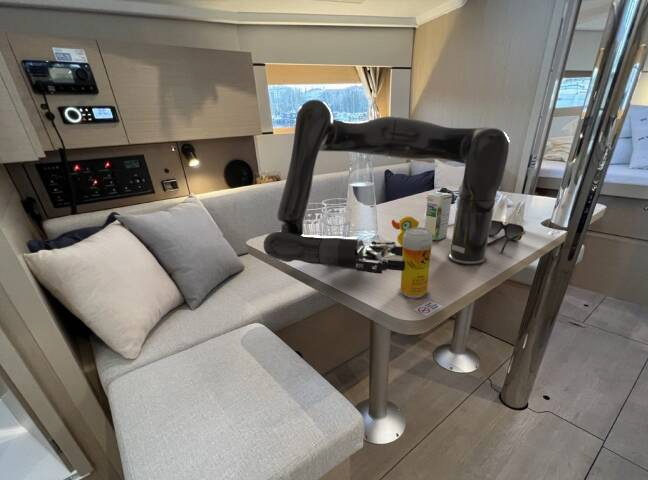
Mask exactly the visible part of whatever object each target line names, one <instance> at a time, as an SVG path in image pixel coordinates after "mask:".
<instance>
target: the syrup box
mask: <svg viewBox="0 0 648 480" xmlns="http://www.w3.org/2000/svg"><path fill="white" fill-rule="evenodd" d="M426 198H427V199H426V208H425V219H424V220H425V221H424V228H427V229H430V230H431V233H432V236H433V238H432V241H433V240H434V241H440V240H443V239H444V238H447V236H448V229H449V222H450V221H449V220H450V214H451V205H452V200H453V199H452V198H453V193H446V192H440V191H439V192H438V191H436V192H431V193H427V196H426Z"/></svg>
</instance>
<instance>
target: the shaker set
mask: <svg viewBox="0 0 648 480" xmlns="http://www.w3.org/2000/svg"><path fill="white" fill-rule="evenodd" d="M508 203H509V195H508V194H505V195H504V194H502V195H501V196H500V197H499V199H497V202H496V203H495V205H494V211H493V216H492V220H495V221H502V222H507V223H503V225H507V224H508V223H513V224H517V225H520V226H522V227H523V225H524V224H523V223H524V217H525V209H526V208H525V206H526V201H522V203H521V200H519V201H518V202H517V203H516V205H515V206H514V207H513V209H512V211H511V212H510V214H509V215H508V217H507V214H508V213H507V212H508Z"/></svg>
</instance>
